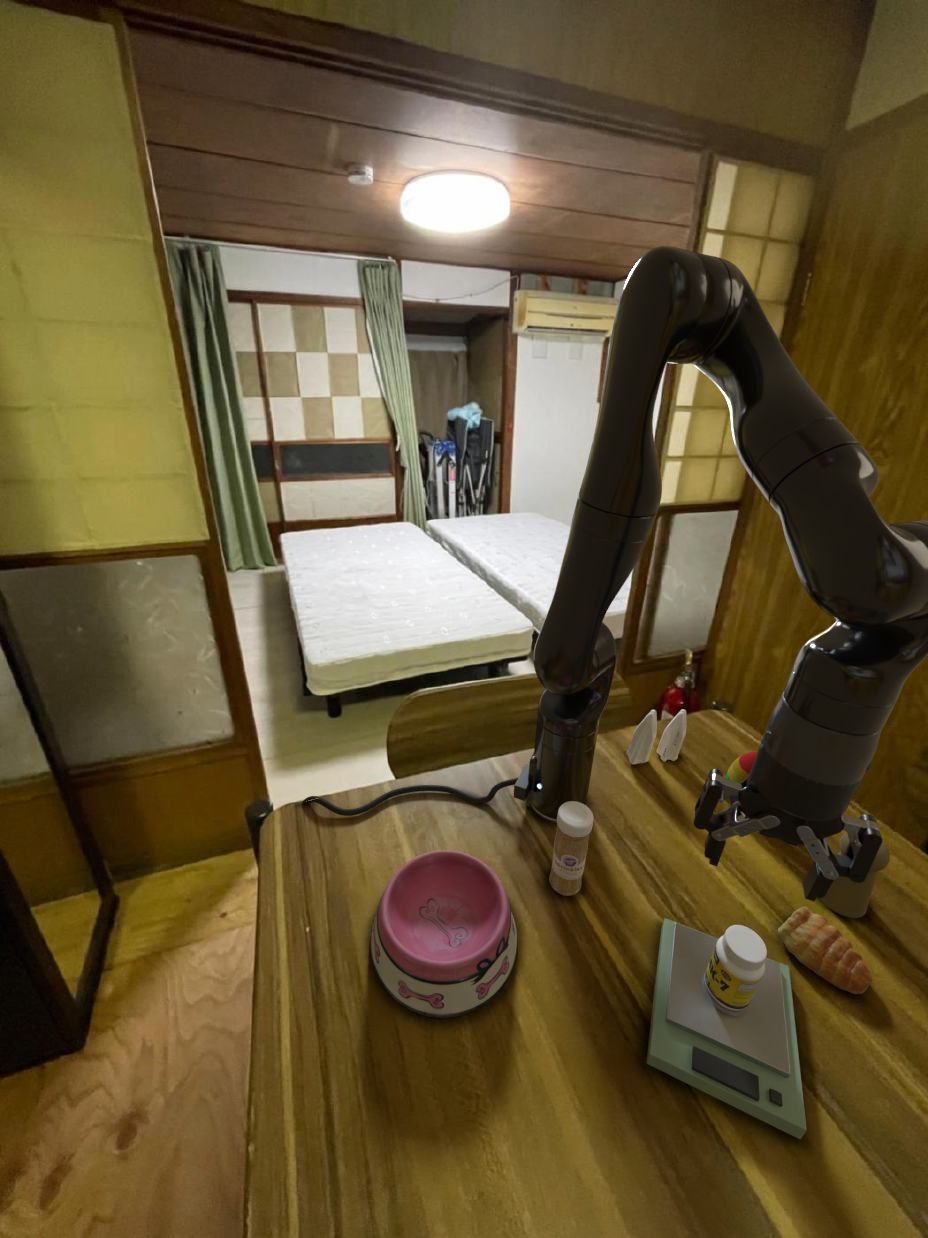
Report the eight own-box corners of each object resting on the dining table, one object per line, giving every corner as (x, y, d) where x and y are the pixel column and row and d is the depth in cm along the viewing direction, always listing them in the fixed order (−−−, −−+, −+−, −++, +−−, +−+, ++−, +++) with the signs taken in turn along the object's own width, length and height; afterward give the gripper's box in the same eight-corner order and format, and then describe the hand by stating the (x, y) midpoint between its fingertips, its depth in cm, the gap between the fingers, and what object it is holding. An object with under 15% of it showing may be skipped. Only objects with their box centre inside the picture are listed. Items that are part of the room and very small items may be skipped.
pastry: (878, 977, 61) (890, 958, 60) (849, 1010, 58) (861, 991, 56) (798, 913, 68) (807, 894, 67) (769, 939, 65) (777, 920, 64)
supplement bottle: (695, 968, 59) (712, 922, 56) (734, 964, 60) (753, 918, 56) (717, 1014, 55) (737, 968, 51) (759, 1011, 55) (781, 964, 52)
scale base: (646, 1064, 53) (650, 1051, 52) (661, 927, 66) (665, 915, 65) (800, 1140, 48) (808, 1128, 47) (784, 976, 61) (790, 963, 60)
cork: (875, 922, 67) (908, 865, 63) (825, 913, 68) (853, 856, 64) (853, 882, 73) (883, 826, 68) (807, 874, 74) (832, 818, 69)
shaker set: (630, 772, 92) (640, 723, 87) (617, 757, 95) (626, 708, 91) (686, 759, 95) (698, 711, 90) (671, 745, 99) (683, 697, 94)
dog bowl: (448, 849, 77) (448, 816, 74) (547, 938, 65) (552, 903, 62) (341, 934, 65) (336, 898, 62) (439, 1061, 53) (439, 1025, 50)
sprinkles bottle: (552, 898, 70) (562, 827, 64) (546, 868, 74) (554, 799, 68) (585, 897, 70) (598, 826, 64) (577, 867, 74) (588, 799, 68)
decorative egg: (726, 776, 91) (740, 732, 87) (778, 797, 87) (796, 751, 83) (716, 805, 85) (730, 758, 81) (771, 828, 81) (789, 781, 77)
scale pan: (665, 1022, 55) (666, 1018, 55) (673, 926, 65) (675, 922, 64) (788, 1078, 51) (790, 1074, 50) (778, 967, 60) (780, 963, 60)
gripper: (901, 750, 45) (835, 874, 52) (723, 704, 50) (686, 822, 57) (928, 810, 38) (849, 941, 46) (721, 751, 44) (680, 877, 51)
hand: (758, 875), depth 51 cm, fingers open, 8 cm apart
